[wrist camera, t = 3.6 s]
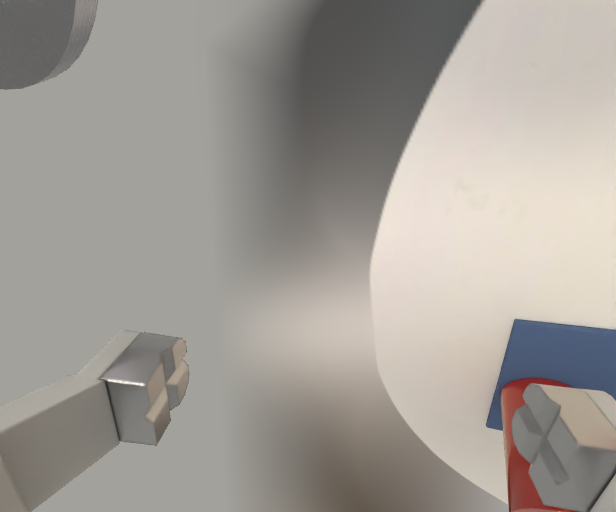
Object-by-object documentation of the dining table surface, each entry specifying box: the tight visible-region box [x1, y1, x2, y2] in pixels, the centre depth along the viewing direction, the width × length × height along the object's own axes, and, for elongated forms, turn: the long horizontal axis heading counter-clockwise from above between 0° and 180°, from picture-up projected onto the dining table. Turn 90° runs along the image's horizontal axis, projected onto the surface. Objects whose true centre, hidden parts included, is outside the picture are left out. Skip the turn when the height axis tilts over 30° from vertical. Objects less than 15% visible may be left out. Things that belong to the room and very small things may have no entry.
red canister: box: [500, 378, 581, 512], centre depth 28 cm, size 6×6×10 cm
